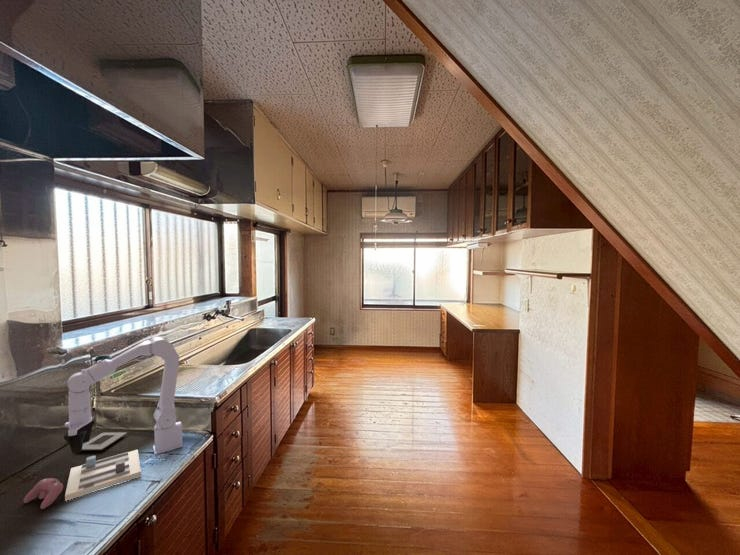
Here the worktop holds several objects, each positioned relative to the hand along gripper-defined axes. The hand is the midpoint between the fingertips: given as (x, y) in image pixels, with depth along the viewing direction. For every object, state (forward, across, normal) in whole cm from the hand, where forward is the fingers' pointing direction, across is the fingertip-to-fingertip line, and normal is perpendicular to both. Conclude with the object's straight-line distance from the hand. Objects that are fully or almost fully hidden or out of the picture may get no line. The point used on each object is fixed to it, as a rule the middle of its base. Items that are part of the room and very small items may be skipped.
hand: (81, 447), depth 113 cm
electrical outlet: (+10, -23, 0) cm, 25 cm away
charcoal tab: (+7, +8, +13) cm, 17 cm away
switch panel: (+10, +4, +8) cm, 13 cm away
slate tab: (+7, 0, +3) cm, 8 cm away
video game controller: (+10, +12, -6) cm, 16 cm away
